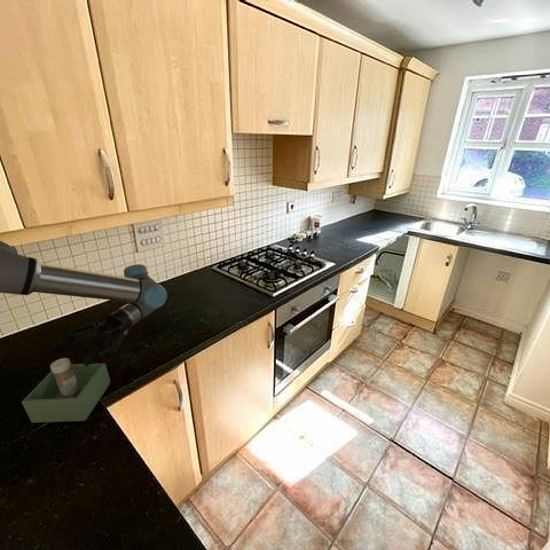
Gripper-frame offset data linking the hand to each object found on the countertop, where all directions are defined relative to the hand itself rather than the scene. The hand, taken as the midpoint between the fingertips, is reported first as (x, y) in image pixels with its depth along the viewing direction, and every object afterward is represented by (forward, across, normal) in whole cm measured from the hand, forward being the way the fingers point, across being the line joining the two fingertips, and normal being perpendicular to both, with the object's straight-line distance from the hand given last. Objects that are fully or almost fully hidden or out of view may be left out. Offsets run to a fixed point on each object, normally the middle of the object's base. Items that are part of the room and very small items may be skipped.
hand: (66, 357), depth 85 cm
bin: (+2, 0, -14) cm, 14 cm away
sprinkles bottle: (+2, 0, -14) cm, 14 cm away
